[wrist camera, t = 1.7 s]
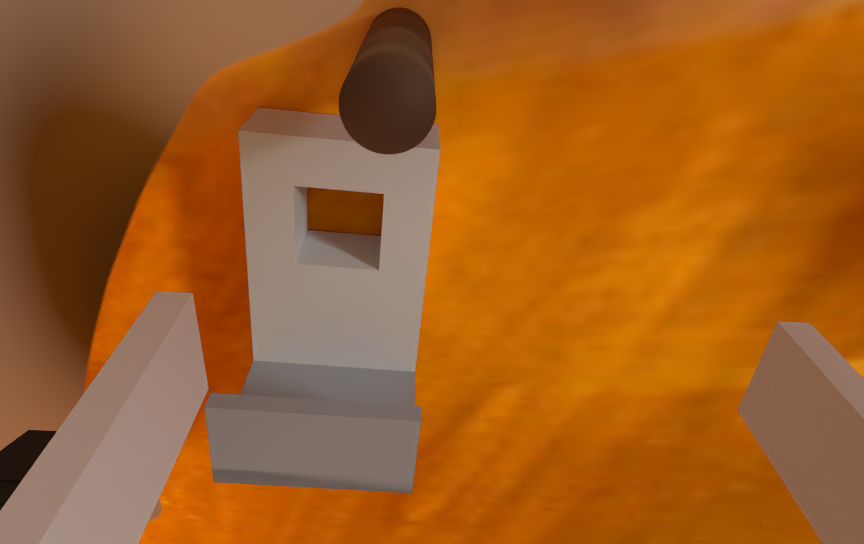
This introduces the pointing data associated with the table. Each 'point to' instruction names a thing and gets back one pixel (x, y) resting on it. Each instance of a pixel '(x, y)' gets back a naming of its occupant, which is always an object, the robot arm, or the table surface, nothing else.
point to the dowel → (391, 85)
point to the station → (327, 313)
